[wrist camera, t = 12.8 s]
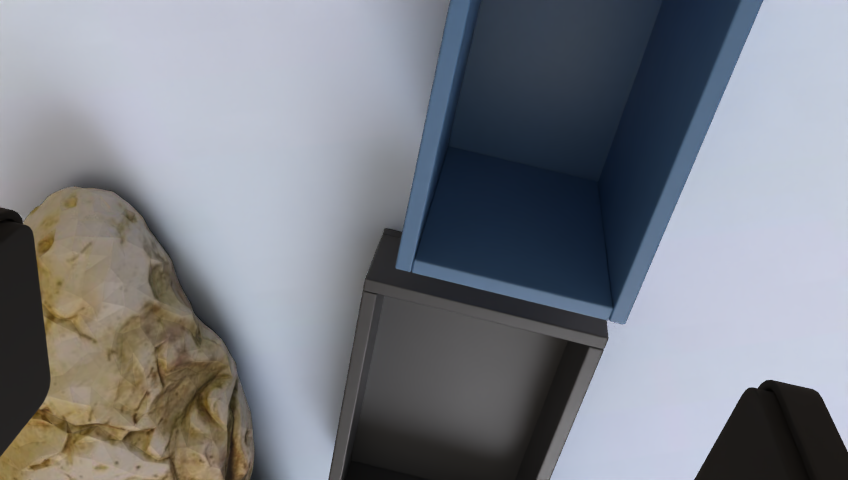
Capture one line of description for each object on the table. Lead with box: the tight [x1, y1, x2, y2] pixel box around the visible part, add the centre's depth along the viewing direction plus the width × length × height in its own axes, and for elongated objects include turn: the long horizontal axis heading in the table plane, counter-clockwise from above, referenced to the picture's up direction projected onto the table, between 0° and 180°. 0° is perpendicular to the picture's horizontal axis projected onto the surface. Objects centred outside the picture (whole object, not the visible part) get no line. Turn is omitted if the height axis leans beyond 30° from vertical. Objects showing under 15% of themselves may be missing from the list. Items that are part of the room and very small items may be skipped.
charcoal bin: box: [329, 229, 608, 480], centre depth 34 cm, size 15×10×4 cm, turn 169°
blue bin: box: [395, 0, 763, 324], centre depth 23 cm, size 12×7×9 cm, turn 169°
